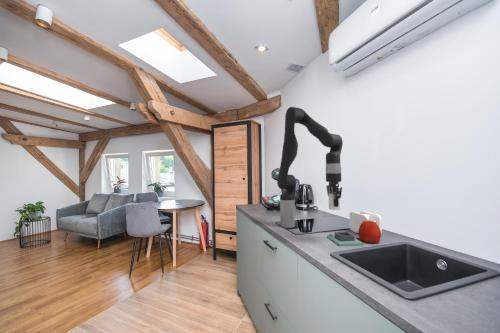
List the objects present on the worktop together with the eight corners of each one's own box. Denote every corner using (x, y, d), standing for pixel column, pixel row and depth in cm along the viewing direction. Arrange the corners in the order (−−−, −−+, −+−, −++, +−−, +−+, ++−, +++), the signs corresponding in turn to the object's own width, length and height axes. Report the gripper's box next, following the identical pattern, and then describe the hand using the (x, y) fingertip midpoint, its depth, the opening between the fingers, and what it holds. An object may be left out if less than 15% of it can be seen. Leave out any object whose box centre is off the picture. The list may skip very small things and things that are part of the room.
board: (327, 236, 120) (327, 230, 120) (348, 236, 121) (348, 229, 121) (339, 245, 106) (339, 238, 106) (363, 245, 107) (363, 237, 107)
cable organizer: (348, 230, 133) (348, 210, 133) (363, 229, 135) (363, 210, 135) (366, 237, 118) (366, 216, 118) (383, 236, 120) (383, 215, 120)
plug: (328, 208, 116) (328, 192, 116) (336, 208, 116) (335, 192, 116) (332, 210, 112) (331, 193, 112) (339, 209, 112) (339, 193, 112)
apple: (375, 238, 118) (374, 218, 118) (385, 244, 107) (385, 223, 108) (355, 237, 118) (355, 218, 118) (364, 244, 108) (363, 222, 108)
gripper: (321, 172, 121) (322, 204, 121) (331, 172, 107) (333, 208, 107) (334, 172, 122) (335, 203, 121) (347, 172, 107) (348, 207, 107)
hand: (334, 205), depth 114 cm, fingers closed on plug, 4 cm apart
